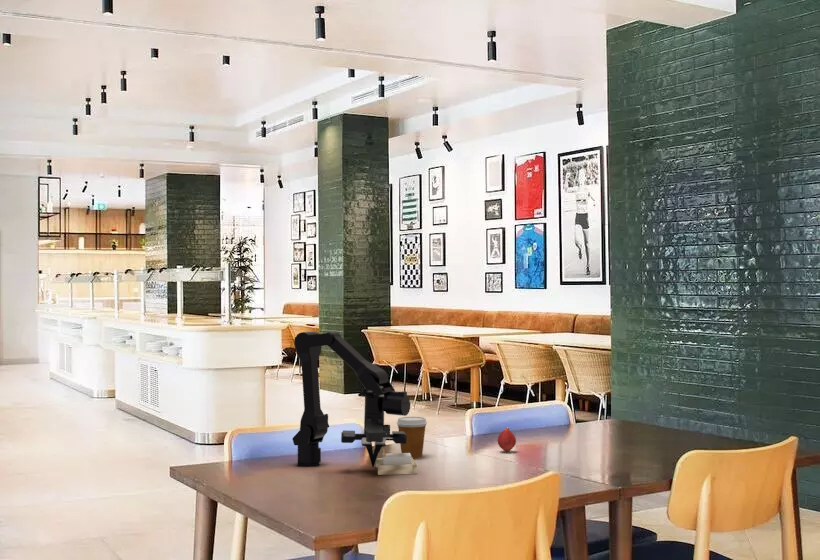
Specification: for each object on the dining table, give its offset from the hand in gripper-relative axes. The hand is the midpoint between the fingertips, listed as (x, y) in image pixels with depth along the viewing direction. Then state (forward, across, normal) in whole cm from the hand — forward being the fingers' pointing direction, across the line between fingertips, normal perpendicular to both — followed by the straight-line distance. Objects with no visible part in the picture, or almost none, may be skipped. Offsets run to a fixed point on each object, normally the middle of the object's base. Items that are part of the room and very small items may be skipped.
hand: (372, 467), depth 271 cm
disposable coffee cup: (+1, +13, +21) cm, 25 cm away
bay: (+1, +6, 0) cm, 6 cm away
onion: (0, +44, +26) cm, 51 cm away
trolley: (+1, +7, 0) cm, 7 cm away
